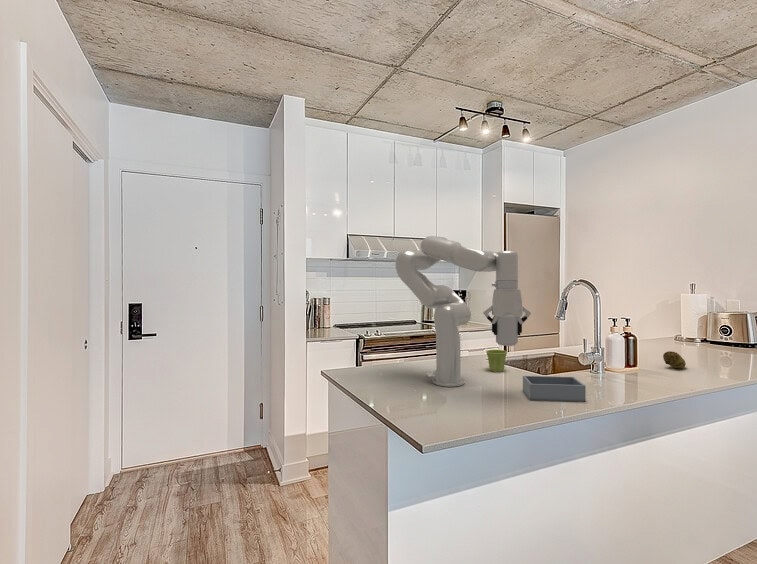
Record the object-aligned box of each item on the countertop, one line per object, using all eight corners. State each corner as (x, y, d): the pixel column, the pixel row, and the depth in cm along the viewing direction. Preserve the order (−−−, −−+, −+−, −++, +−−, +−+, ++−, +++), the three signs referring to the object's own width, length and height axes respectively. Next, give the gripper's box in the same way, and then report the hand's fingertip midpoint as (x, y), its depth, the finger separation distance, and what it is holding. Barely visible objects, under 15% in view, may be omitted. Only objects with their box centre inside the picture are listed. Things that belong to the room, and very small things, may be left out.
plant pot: (485, 372, 184) (485, 352, 183) (486, 367, 193) (486, 349, 192) (507, 373, 181) (507, 353, 181) (507, 369, 190) (507, 350, 190)
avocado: (694, 369, 186) (695, 351, 186) (673, 371, 182) (674, 353, 182) (676, 365, 194) (676, 348, 194) (655, 367, 190) (655, 350, 190)
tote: (530, 400, 143) (530, 384, 143) (522, 390, 155) (522, 375, 155) (585, 401, 141) (585, 385, 141) (573, 391, 153) (573, 376, 153)
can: (518, 346, 145) (518, 312, 145) (496, 345, 147) (496, 311, 147) (516, 342, 153) (516, 310, 152) (495, 342, 154) (495, 310, 154)
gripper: (482, 286, 147) (483, 336, 147) (534, 285, 144) (534, 336, 145) (480, 285, 154) (480, 333, 155) (529, 285, 152) (529, 333, 152)
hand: (506, 334), depth 150 cm, fingers closed on can, 7 cm apart
